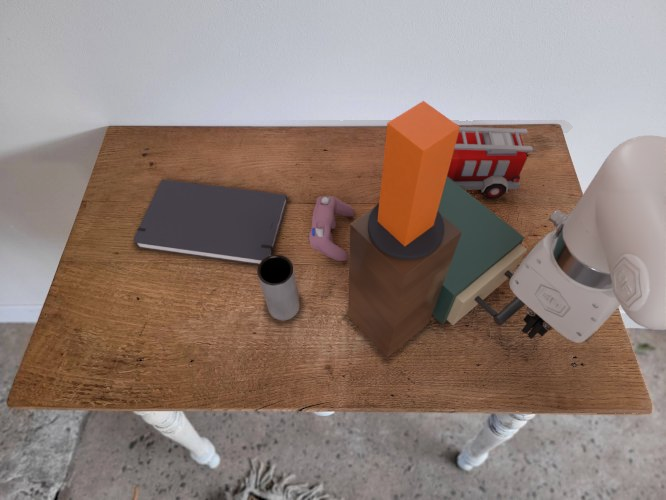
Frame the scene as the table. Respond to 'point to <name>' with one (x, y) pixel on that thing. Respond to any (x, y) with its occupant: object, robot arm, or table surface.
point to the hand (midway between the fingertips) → (533, 328)
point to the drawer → (489, 290)
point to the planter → (279, 286)
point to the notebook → (212, 221)
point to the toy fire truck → (488, 159)
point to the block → (415, 170)
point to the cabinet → (471, 243)
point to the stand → (394, 286)
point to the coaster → (414, 249)
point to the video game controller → (328, 226)
